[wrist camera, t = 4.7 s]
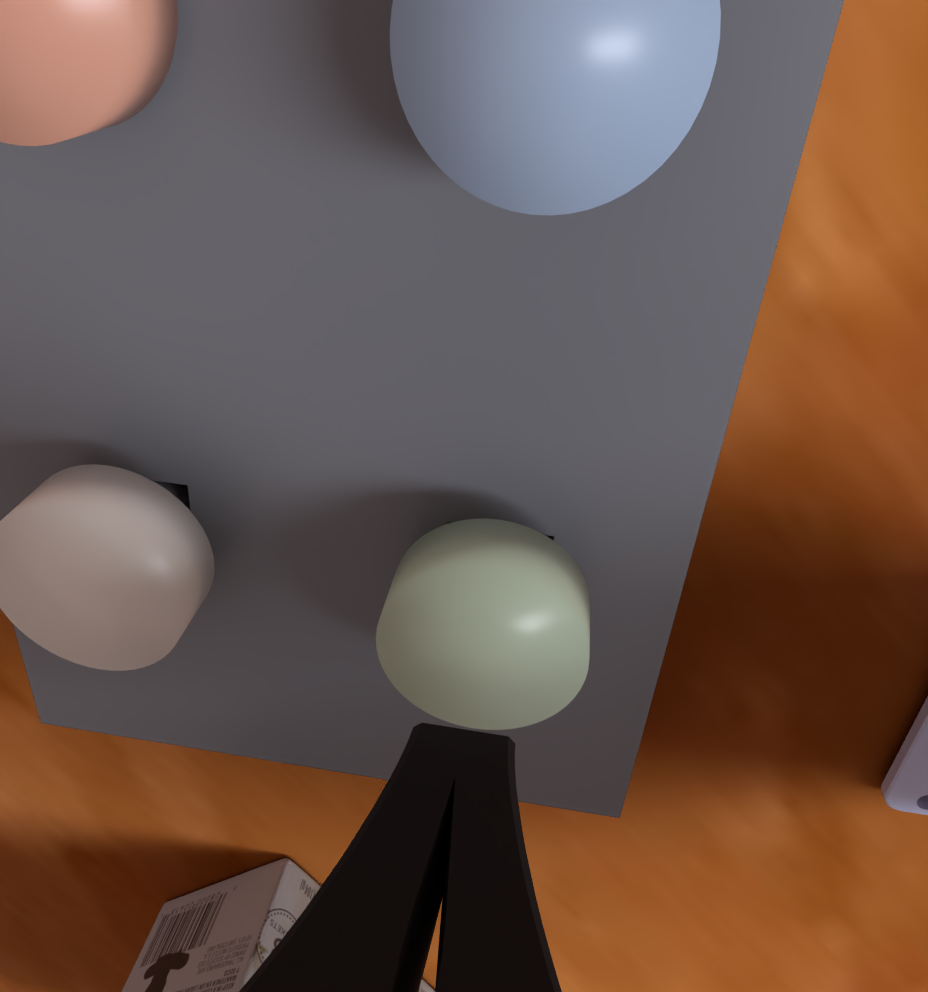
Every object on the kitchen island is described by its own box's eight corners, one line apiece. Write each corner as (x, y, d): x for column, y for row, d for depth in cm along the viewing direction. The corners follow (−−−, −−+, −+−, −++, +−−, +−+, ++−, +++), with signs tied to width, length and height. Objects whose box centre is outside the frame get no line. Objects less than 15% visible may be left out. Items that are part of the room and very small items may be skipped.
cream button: (249, 422, 16) (170, 522, 13) (259, 568, 18) (192, 683, 15) (75, 399, 17) (-40, 492, 14) (104, 545, 19) (8, 654, 16)
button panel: (952, -601, 9) (1053, -768, 7) (617, 735, 21) (619, 818, 19) (-192, -638, 10) (-391, -795, 8) (93, 652, 22) (41, 723, 20)
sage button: (604, 469, 16) (606, 585, 13) (576, 614, 18) (572, 743, 15) (419, 445, 16) (377, 552, 13) (411, 589, 18) (374, 712, 15)
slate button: (715, -111, 11) (760, -146, 8) (661, 172, 13) (681, 231, 10) (449, -132, 11) (394, -174, 8) (434, 148, 13) (385, 198, 10)
